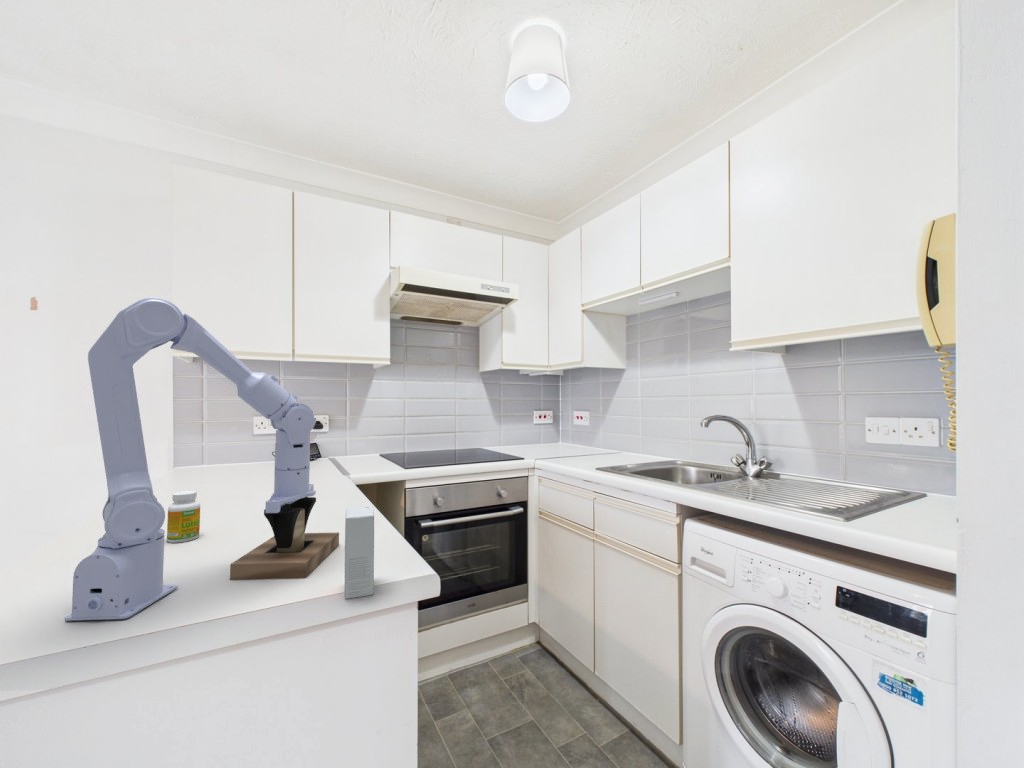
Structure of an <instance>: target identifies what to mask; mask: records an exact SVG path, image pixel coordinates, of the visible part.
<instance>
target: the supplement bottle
mask: <svg viewBox="0 0 1024 768" xmlns="http://www.w3.org/2000/svg"><path fill="white" fill-rule="evenodd" d="M196 499H197V490H183V491H177V492H174V493H172V502H173V503H171V504H170V505H169V506H168V508H167V524H166V525H167V530H166V542H168V543H171V544H176V543H186V542H190V541H193V540H195V539H197V538H199V536H200V528H201V527H200V525H201V524H200V523H201V520H200V519H201V502H199V500H196Z"/></svg>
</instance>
